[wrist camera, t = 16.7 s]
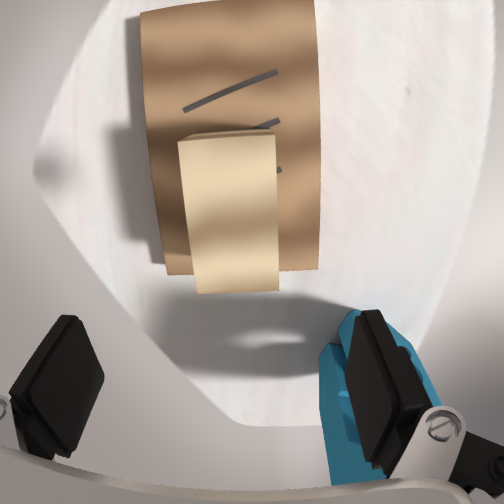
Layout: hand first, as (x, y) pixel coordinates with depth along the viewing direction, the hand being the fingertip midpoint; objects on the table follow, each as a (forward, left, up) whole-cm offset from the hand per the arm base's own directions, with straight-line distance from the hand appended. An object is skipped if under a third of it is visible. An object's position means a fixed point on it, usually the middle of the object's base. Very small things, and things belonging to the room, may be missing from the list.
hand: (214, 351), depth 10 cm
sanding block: (0, 0, -18) cm, 18 cm away
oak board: (-5, 0, -20) cm, 21 cm away
